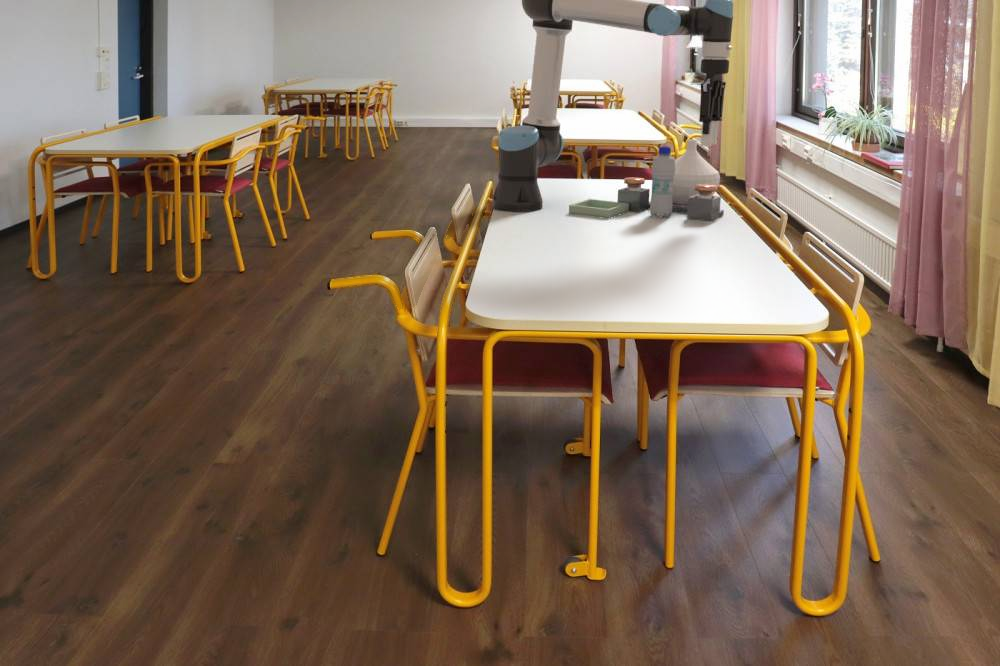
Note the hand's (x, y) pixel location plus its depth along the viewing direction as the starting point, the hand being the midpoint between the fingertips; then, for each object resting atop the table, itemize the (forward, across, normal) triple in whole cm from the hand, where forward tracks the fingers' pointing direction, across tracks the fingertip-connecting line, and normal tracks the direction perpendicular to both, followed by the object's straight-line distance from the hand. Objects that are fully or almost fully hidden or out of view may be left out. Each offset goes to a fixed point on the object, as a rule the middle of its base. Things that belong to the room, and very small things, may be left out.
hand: (708, 145), depth 272 cm
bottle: (+21, -5, +11) cm, 24 cm away
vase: (+21, +21, +13) cm, 32 cm away
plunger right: (+20, 0, 0) cm, 20 cm away
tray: (+21, -10, +28) cm, 36 cm away
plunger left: (+20, 0, +22) cm, 30 cm away
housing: (+21, +2, +11) cm, 23 cm away
